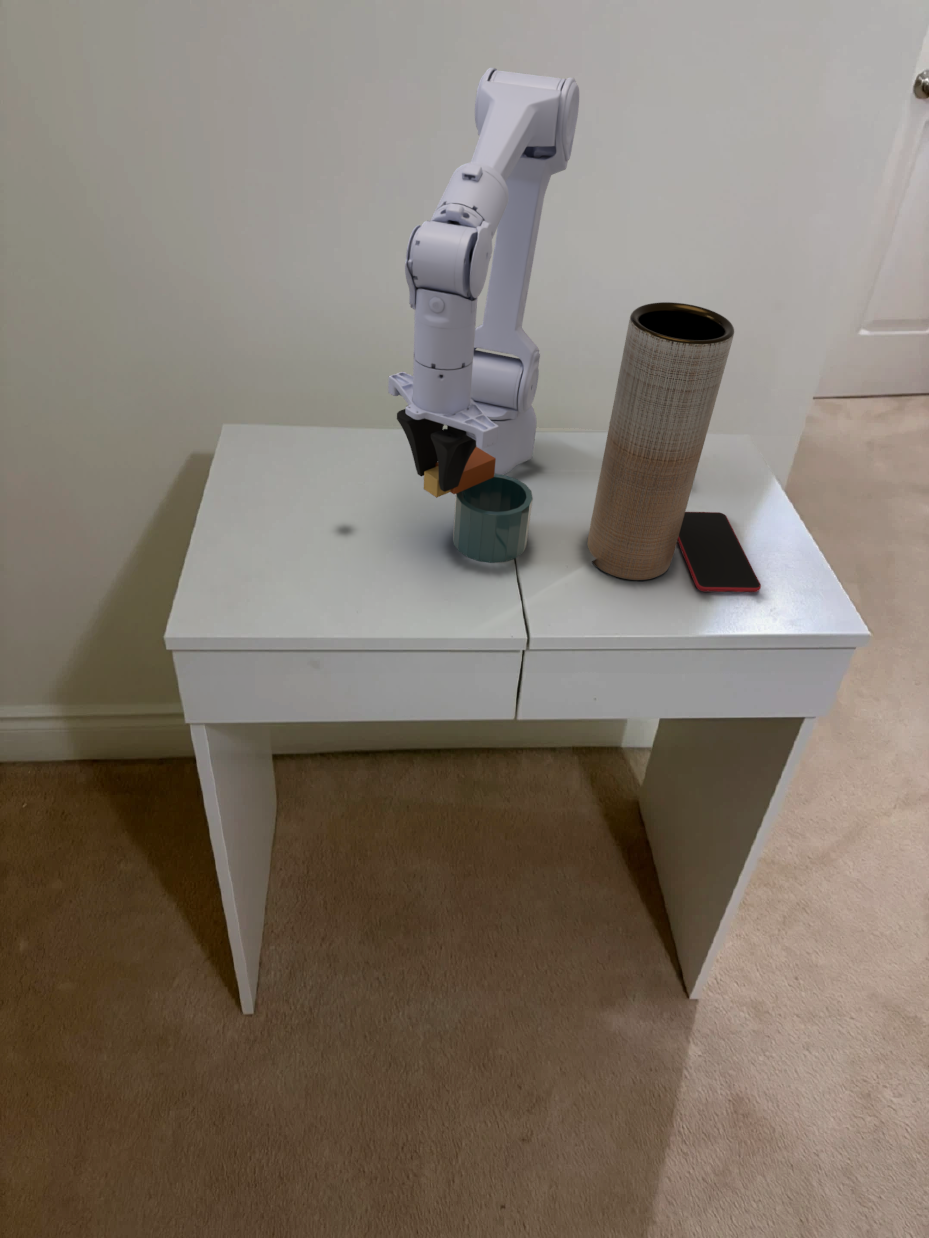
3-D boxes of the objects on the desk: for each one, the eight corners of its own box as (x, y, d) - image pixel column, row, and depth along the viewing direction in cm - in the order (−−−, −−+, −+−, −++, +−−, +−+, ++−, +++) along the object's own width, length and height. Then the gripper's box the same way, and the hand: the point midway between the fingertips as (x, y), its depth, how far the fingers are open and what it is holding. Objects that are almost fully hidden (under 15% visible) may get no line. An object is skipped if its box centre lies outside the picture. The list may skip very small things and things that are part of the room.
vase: (654, 529, 103) (711, 301, 85) (683, 579, 96) (752, 341, 78) (575, 533, 101) (617, 301, 83) (599, 584, 94) (650, 342, 76)
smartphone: (698, 588, 93) (667, 510, 104) (696, 594, 94) (665, 516, 105) (763, 588, 94) (725, 512, 105) (761, 595, 94) (723, 518, 106)
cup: (489, 519, 102) (495, 465, 98) (540, 552, 98) (548, 497, 93) (437, 544, 98) (440, 489, 93) (488, 580, 93) (493, 524, 89)
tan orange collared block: (474, 465, 95) (476, 446, 94) (494, 477, 94) (496, 458, 92) (420, 488, 91) (420, 468, 90) (439, 501, 89) (440, 481, 88)
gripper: (363, 341, 83) (365, 462, 92) (463, 396, 75) (454, 523, 84) (419, 325, 87) (416, 443, 95) (519, 377, 79) (505, 500, 88)
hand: (437, 479), depth 90 cm, fingers closed on tan orange collared block, 3 cm apart
